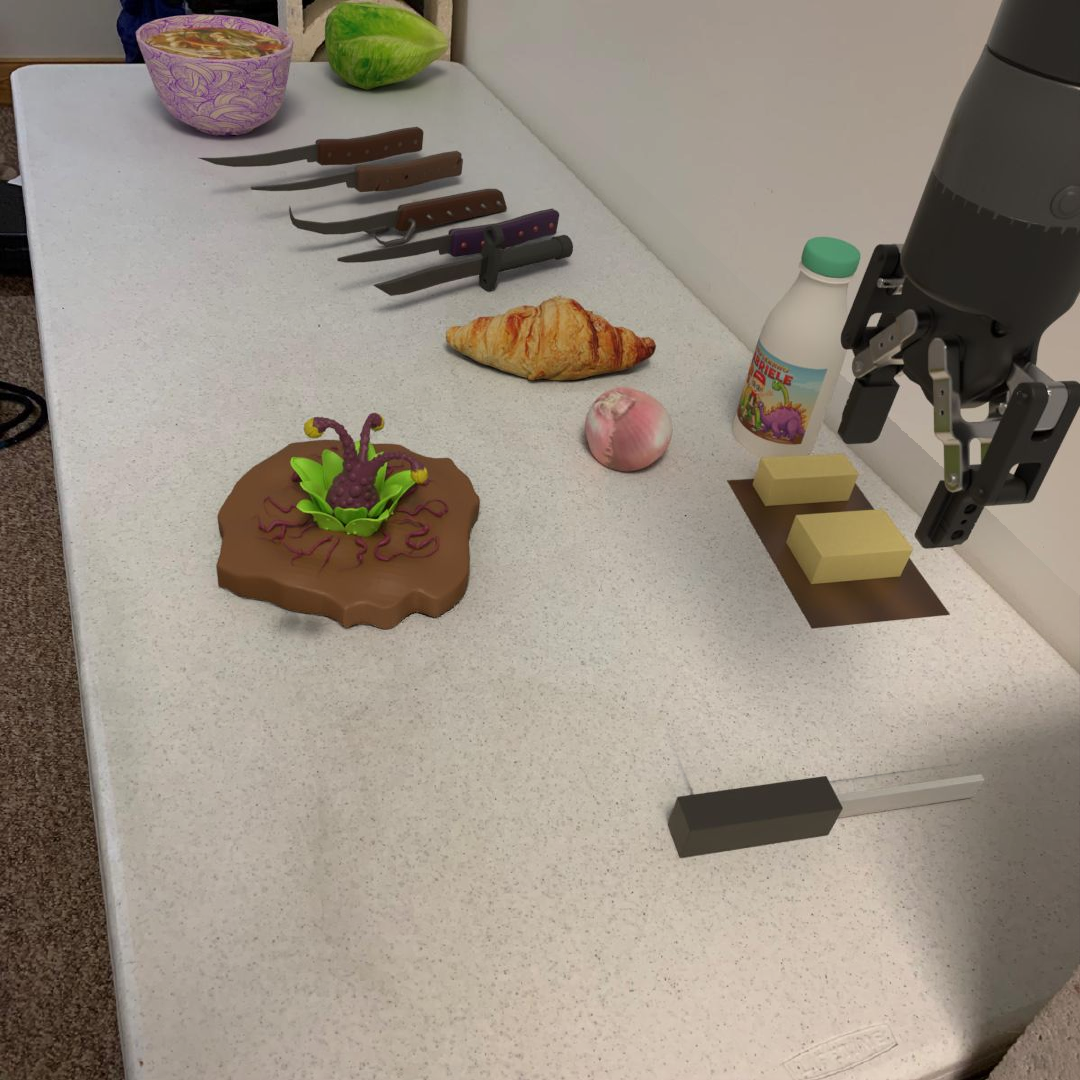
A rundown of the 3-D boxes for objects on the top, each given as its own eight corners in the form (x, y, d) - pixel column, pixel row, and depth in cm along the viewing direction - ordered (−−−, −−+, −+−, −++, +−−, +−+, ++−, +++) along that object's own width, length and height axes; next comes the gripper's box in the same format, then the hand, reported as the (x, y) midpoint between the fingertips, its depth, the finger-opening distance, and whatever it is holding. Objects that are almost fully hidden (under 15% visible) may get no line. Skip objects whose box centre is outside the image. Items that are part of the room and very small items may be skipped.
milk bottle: (765, 412, 98) (825, 219, 85) (826, 452, 94) (899, 256, 81) (713, 436, 94) (767, 237, 81) (775, 479, 90) (843, 277, 77)
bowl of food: (156, 97, 144) (143, 9, 136) (297, 104, 148) (293, 19, 140) (140, 149, 130) (126, 55, 122) (298, 155, 134) (293, 64, 126)
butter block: (871, 535, 84) (883, 508, 82) (900, 576, 80) (913, 549, 78) (785, 542, 82) (795, 514, 80) (810, 584, 78) (822, 556, 76)
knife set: (196, 195, 118) (192, 129, 113) (419, 162, 138) (424, 104, 133) (362, 331, 101) (366, 260, 96) (591, 271, 120) (604, 209, 115)
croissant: (443, 396, 100) (443, 355, 93) (446, 311, 104) (447, 265, 96) (649, 406, 102) (666, 366, 95) (646, 322, 106) (662, 277, 98)
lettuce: (463, 96, 159) (467, 14, 151) (341, 102, 151) (339, 16, 143) (430, 68, 168) (432, -11, 160) (313, 72, 159) (310, -10, 151)
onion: (567, 439, 91) (577, 372, 87) (642, 428, 94) (656, 363, 89) (601, 492, 86) (614, 424, 81) (680, 479, 89) (697, 413, 84)
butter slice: (833, 479, 89) (843, 453, 87) (848, 500, 87) (859, 474, 85) (752, 484, 88) (760, 457, 86) (765, 506, 85) (774, 479, 83)
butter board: (845, 481, 91) (848, 472, 90) (945, 623, 78) (950, 614, 78) (724, 488, 88) (726, 479, 88) (808, 637, 75) (811, 628, 75)
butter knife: (960, 781, 67) (978, 754, 65) (979, 811, 65) (998, 785, 63) (667, 824, 62) (677, 796, 60) (679, 858, 60) (690, 831, 58)
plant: (261, 446, 86) (250, 332, 78) (486, 474, 86) (497, 363, 79) (184, 611, 71) (162, 488, 63) (458, 644, 71) (467, 525, 64)
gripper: (1225, 260, 37) (1033, 577, 47) (1008, 120, 47) (891, 407, 57) (1052, 261, 35) (894, 590, 45) (866, 115, 45) (772, 412, 56)
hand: (892, 488), depth 51 cm, fingers open, 8 cm apart
